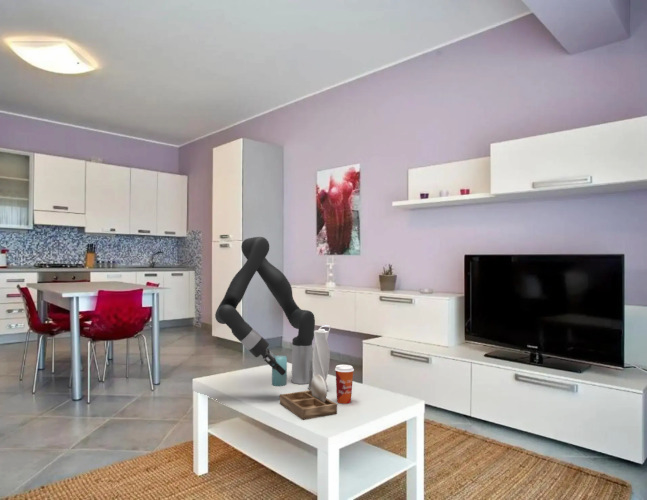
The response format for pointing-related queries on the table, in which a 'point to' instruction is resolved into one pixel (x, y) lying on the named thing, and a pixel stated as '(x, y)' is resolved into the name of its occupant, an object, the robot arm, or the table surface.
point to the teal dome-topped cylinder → (276, 376)
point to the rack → (310, 401)
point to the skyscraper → (320, 355)
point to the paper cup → (344, 383)
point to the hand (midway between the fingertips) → (283, 371)
